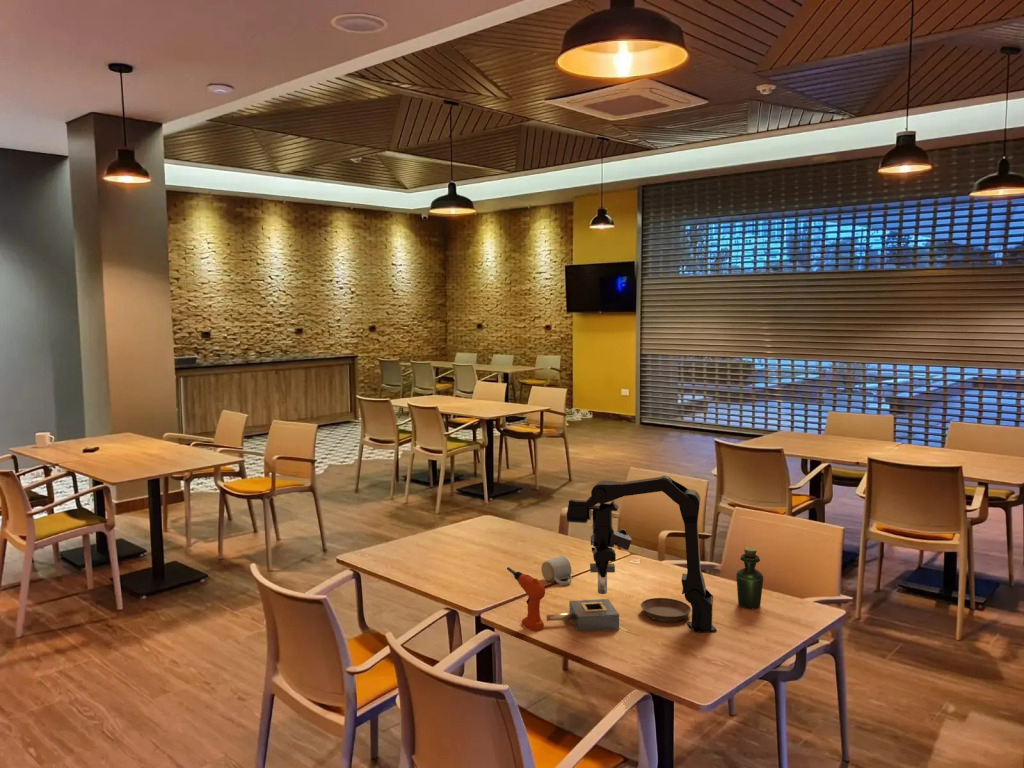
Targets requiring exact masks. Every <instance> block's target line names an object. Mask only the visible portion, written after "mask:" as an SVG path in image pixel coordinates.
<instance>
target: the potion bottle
mask: <svg viewBox="0 0 1024 768" xmlns="http://www.w3.org/2000/svg"><path fill="white" fill-rule="evenodd" d="M743 550H744V553H743V554H741V556H740V558H739V559H740V561H742V562H743V565H744V567H743V568H741V569H739V570H738V571H737V572H736V574H735V575H736V576H735V577H736V590H737V602H738V606H739V605H740V607H741V608H742V609H746V608H747V609H746V610H757V609H756V608H758V609H759V608H760V607H761V603H762V593H763V586H764V575H763V573H762V572H761V571H759V570H758V569H756V566H757V564H758V563H760V561H761V559H760V556H759V555H756V554H757V551H758V549H757V548H755V547H751V546H746V547H744V548H743Z"/></svg>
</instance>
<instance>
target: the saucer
mask: <svg viewBox="0 0 1024 768" xmlns="http://www.w3.org/2000/svg"><path fill="white" fill-rule="evenodd" d="M640 607H641V608H642V610H643V612H644V613H645V614H646V615H647V616H648V617H650V618H652V619H654V620H656V621H660V622H679V621H681V620H683V619H685V618H686V617H687V616H688V615H689V614H690V612H692V607H691V606H690V605H689V604H687V603H685V602H684V601H681V600H678V599H674V598H669V597H668V598H667V597H652V598H647V599H645V600H643V601H642V602H641V604H640Z"/></svg>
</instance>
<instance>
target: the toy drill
mask: <svg viewBox="0 0 1024 768" xmlns="http://www.w3.org/2000/svg"><path fill="white" fill-rule="evenodd" d="M506 569H507V571H508V572H509V573H511V574H512V575H513V577H514V579H515V580H516V581H517V582H518V585H519V586H520V587H521V589H523V591H524V592H525V593H526V595H527V596H528V598H527V600H526V604H527V616H526V617H523V618H522V620H521V625H522V624H523V625H524V626H525V627H524V626H523V625H522V626H523V627H524V628H526V629H528V630H530V631H533V630H534V632H538V631H540V632H541V631H542V630H544V629H545V623H544V621H543V619H542V618H541V614H540V613H541V611H540V605H541V604H540V603H541V600H542V599H543V598H544V597H545V595H546V588H545V586H544V584H543V583H542V582H541V581H540V580H539V579H538V578H536V577H535V578H534V577H533V576H532V575H529V574H526V573H523V572H520V571H516V570H514V569H512V568H511V567H509V566H507V568H506Z"/></svg>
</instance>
